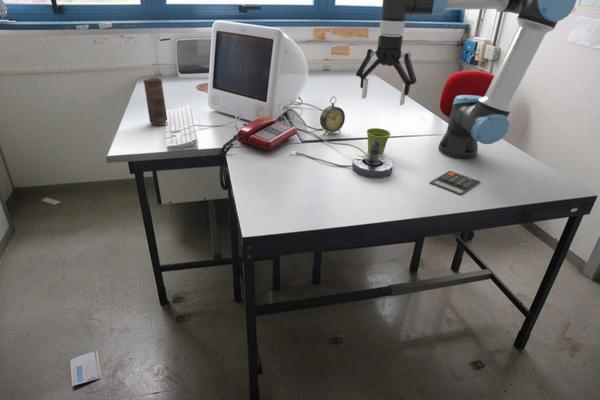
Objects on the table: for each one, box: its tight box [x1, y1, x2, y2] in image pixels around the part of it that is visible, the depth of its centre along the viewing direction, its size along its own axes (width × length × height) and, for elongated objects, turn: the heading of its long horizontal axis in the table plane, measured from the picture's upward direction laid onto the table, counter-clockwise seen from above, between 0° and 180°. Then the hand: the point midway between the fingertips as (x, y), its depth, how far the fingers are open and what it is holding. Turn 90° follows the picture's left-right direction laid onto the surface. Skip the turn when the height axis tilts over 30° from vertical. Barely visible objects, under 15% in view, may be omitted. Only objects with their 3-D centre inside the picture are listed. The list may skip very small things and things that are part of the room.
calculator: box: [429, 170, 481, 196], centre depth 143 cm, size 12×1×15 cm
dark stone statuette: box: [365, 139, 382, 167], centre depth 146 cm, size 6×6×12 cm
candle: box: [143, 76, 168, 126], centre depth 176 cm, size 8×7×20 cm
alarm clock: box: [319, 96, 346, 136], centre depth 177 cm, size 11×5×16 cm, turn 123°
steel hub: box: [351, 154, 394, 180], centre depth 148 cm, size 14×14×3 cm
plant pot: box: [366, 127, 392, 156], centre depth 161 cm, size 9×9×9 cm
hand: (382, 101), depth 140 cm, fingers open, 13 cm apart
